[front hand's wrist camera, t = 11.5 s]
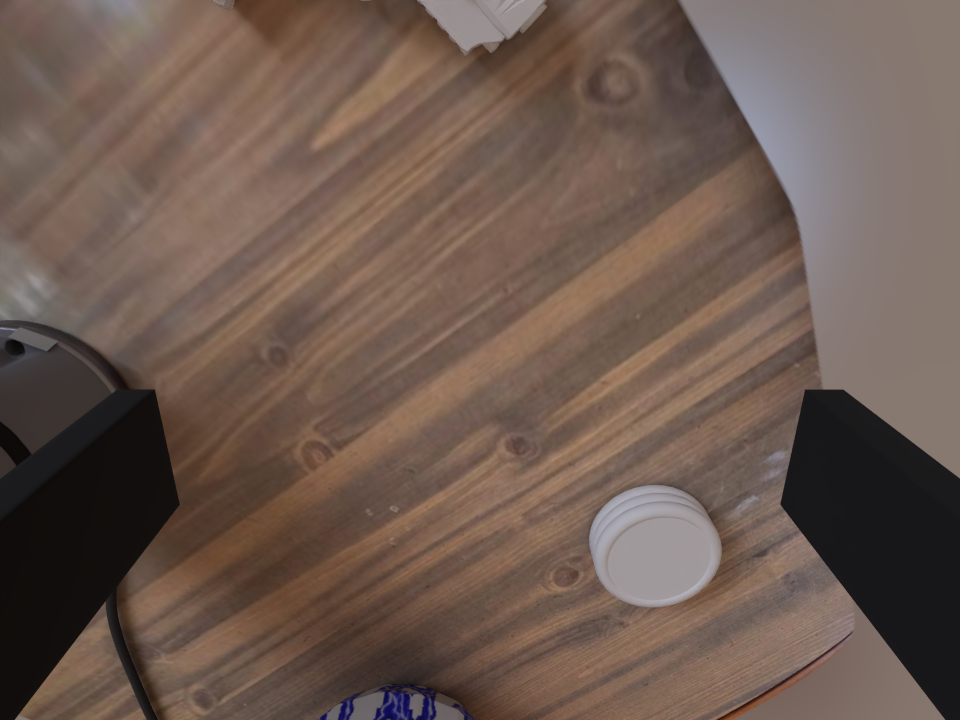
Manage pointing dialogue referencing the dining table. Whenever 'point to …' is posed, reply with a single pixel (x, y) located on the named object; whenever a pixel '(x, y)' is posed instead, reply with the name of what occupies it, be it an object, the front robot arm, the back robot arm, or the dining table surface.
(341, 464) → the dining table surface
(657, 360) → the dining table surface
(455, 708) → the ornament
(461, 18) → the pistol
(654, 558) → the coaster
